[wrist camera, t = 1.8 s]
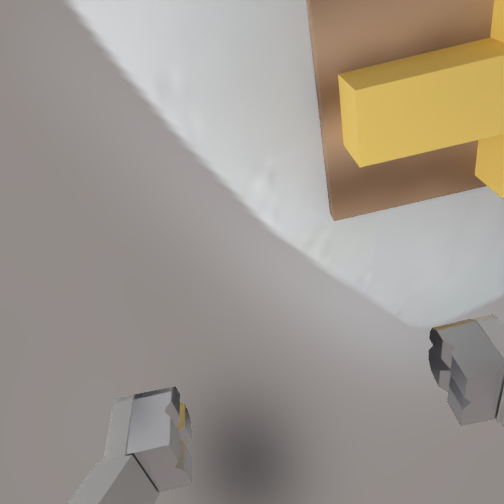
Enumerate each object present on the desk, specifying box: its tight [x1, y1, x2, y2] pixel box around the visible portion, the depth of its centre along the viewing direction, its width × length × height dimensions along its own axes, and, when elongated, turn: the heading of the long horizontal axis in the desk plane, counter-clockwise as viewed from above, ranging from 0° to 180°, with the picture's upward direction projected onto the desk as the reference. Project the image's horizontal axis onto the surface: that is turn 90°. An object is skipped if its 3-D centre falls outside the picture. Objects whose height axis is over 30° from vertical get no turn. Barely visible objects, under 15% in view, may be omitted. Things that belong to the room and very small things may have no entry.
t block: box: [338, 0, 504, 198], centre depth 23 cm, size 12×12×3 cm
